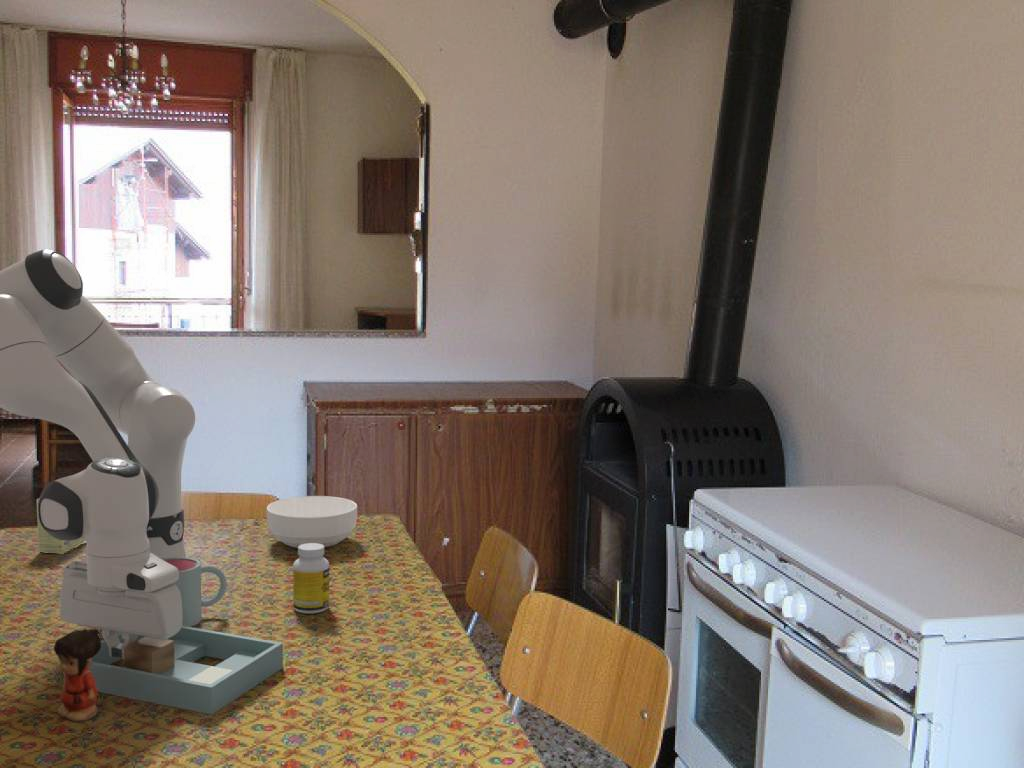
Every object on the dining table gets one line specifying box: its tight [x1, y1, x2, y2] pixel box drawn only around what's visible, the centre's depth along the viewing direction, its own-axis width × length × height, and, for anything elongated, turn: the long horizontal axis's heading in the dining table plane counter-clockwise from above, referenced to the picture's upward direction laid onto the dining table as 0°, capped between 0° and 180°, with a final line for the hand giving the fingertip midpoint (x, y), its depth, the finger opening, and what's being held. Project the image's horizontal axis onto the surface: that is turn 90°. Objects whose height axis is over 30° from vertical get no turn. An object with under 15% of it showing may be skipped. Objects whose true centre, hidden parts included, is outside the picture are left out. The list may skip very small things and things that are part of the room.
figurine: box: [53, 628, 101, 723], centre depth 143 cm, size 6×6×12 cm
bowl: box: [266, 495, 358, 549], centre depth 229 cm, size 20×20×8 cm
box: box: [36, 497, 85, 554], centre depth 222 cm, size 10×6×12 cm, turn 172°
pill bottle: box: [292, 543, 330, 615], centre depth 187 cm, size 6×6×12 cm
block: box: [123, 637, 175, 675], centre depth 154 cm, size 5×5×4 cm
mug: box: [162, 556, 228, 627], centre depth 181 cm, size 14×9×10 cm
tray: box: [63, 626, 284, 716], centre depth 157 cm, size 26×18×4 cm
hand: (120, 657), depth 156 cm, fingers closed
